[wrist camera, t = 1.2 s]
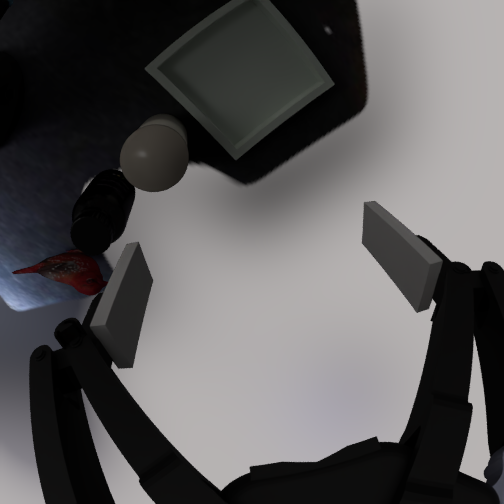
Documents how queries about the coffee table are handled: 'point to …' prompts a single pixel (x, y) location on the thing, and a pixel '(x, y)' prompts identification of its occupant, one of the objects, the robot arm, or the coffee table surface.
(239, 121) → the sage tray
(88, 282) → the decorative bird figurine
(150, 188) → the cream canister
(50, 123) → the coffee table surface
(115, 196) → the supplement bottle
